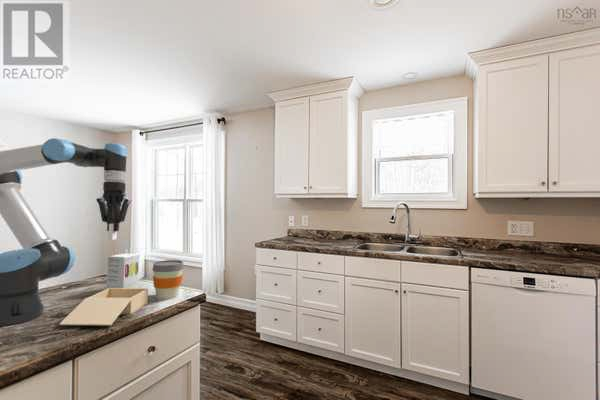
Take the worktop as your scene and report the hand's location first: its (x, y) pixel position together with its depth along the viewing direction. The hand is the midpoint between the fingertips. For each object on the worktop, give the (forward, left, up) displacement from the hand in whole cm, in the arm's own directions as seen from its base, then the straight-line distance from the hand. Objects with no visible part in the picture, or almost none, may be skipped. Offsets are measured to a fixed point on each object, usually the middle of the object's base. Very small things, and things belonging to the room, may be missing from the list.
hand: (112, 239), depth 112 cm
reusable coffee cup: (+18, +11, -27) cm, 34 cm away
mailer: (+6, -4, -26) cm, 27 cm away
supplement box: (-6, +18, -27) cm, 33 cm away
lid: (+6, -16, -23) cm, 28 cm away
